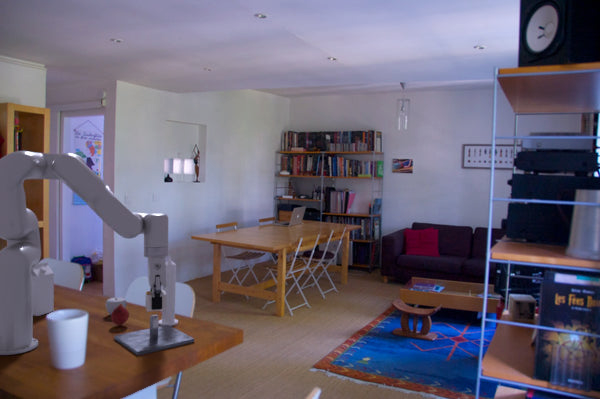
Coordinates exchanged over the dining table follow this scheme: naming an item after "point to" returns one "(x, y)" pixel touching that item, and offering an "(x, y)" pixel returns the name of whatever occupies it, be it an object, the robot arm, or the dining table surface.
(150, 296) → the white cube box
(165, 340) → the hub plate
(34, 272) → the milk carton
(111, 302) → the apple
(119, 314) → the onion
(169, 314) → the candle
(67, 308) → the dining table surface
